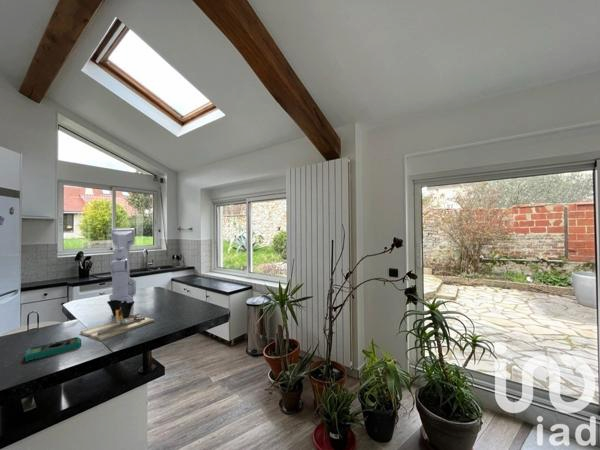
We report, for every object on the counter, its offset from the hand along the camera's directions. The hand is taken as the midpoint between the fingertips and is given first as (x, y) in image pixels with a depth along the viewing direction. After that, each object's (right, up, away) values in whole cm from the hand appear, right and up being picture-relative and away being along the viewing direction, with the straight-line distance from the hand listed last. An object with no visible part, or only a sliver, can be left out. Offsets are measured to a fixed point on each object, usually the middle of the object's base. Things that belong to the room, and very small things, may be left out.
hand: (121, 316), depth 119 cm
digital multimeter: (-9, -6, -22) cm, 25 cm away
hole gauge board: (0, -4, -1) cm, 5 cm away
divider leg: (+1, -3, -1) cm, 3 cm away
